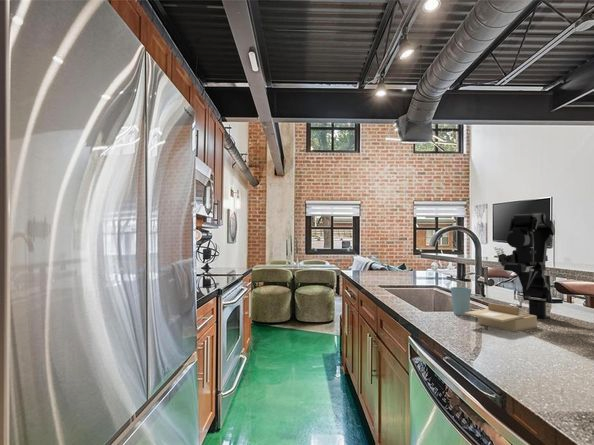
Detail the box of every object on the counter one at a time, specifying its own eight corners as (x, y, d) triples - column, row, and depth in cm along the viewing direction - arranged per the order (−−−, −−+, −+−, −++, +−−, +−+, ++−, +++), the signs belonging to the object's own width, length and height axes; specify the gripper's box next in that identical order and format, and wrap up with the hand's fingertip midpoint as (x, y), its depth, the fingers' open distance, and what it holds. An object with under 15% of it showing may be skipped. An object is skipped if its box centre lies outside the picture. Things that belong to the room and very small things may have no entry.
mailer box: (499, 319, 135) (499, 309, 135) (536, 327, 124) (536, 315, 124) (477, 324, 127) (477, 312, 128) (515, 332, 116) (515, 320, 117)
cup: (458, 311, 150) (458, 286, 150) (475, 315, 143) (475, 289, 143) (446, 313, 146) (446, 287, 146) (463, 316, 139) (463, 290, 140)
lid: (487, 310, 131) (487, 302, 131) (525, 317, 120) (525, 308, 120) (464, 314, 123) (464, 305, 124) (502, 321, 112) (502, 312, 113)
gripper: (514, 247, 144) (515, 285, 143) (489, 247, 134) (489, 288, 133) (545, 247, 134) (546, 289, 133) (520, 248, 124) (521, 292, 124)
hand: (525, 289), depth 131 cm, fingers closed
